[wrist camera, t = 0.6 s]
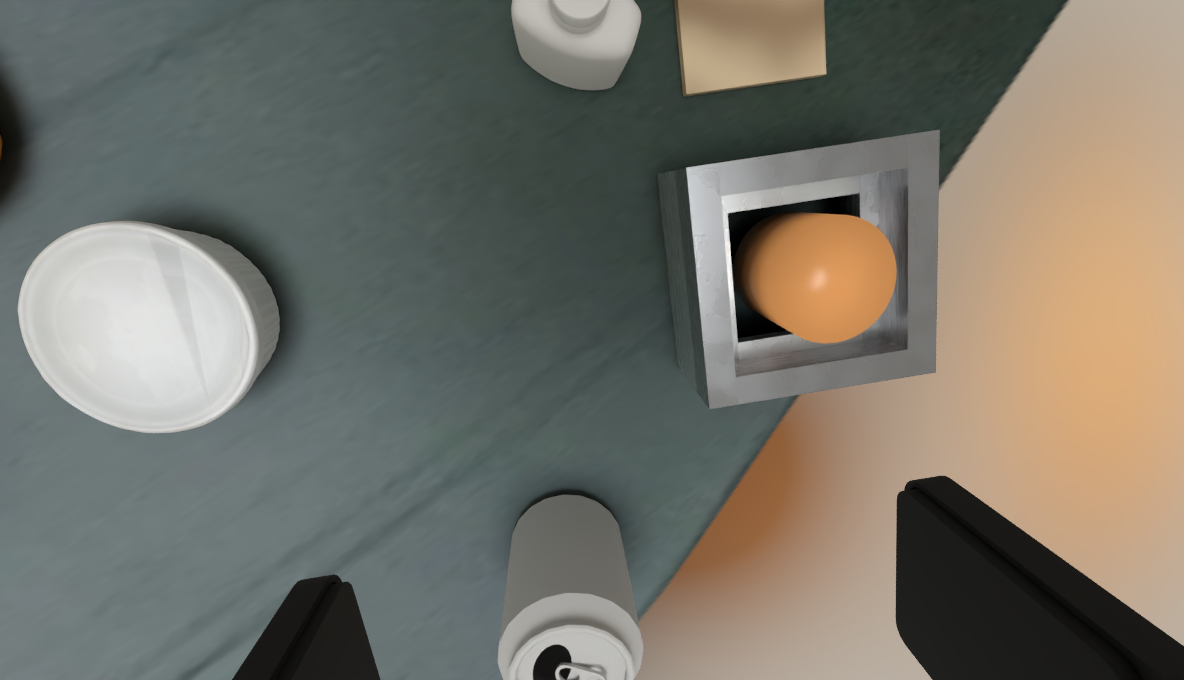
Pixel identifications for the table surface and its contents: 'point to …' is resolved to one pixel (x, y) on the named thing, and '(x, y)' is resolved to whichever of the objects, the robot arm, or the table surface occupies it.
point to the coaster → (748, 43)
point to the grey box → (852, 171)
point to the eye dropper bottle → (577, 39)
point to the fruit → (0, 146)
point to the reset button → (816, 274)
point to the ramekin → (147, 324)
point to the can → (568, 597)
